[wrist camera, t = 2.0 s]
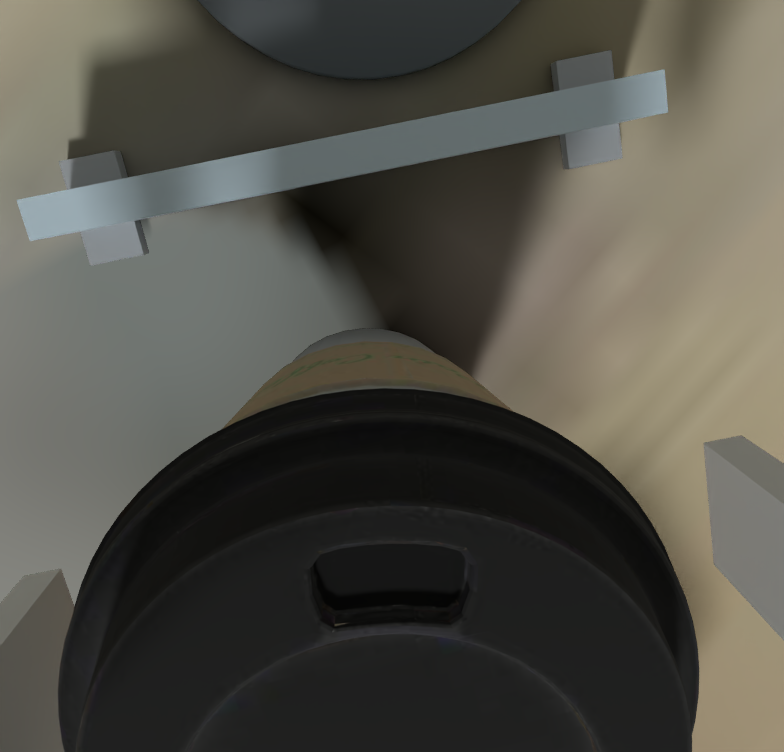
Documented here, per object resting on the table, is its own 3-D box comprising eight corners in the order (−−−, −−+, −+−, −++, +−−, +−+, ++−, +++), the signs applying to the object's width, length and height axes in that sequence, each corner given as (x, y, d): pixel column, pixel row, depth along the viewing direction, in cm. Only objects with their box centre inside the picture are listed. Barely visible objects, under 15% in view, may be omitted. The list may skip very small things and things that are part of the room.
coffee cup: (430, 218, 22) (581, 287, 8) (555, 470, 24) (848, 888, 10) (164, 359, 23) (-163, 670, 8) (311, 591, 25) (254, 1146, 11)
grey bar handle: (97, 263, 22) (43, 280, 18) (66, 162, 21) (2, 157, 17) (615, 159, 22) (671, 154, 18) (604, 53, 21) (660, 25, 17)
